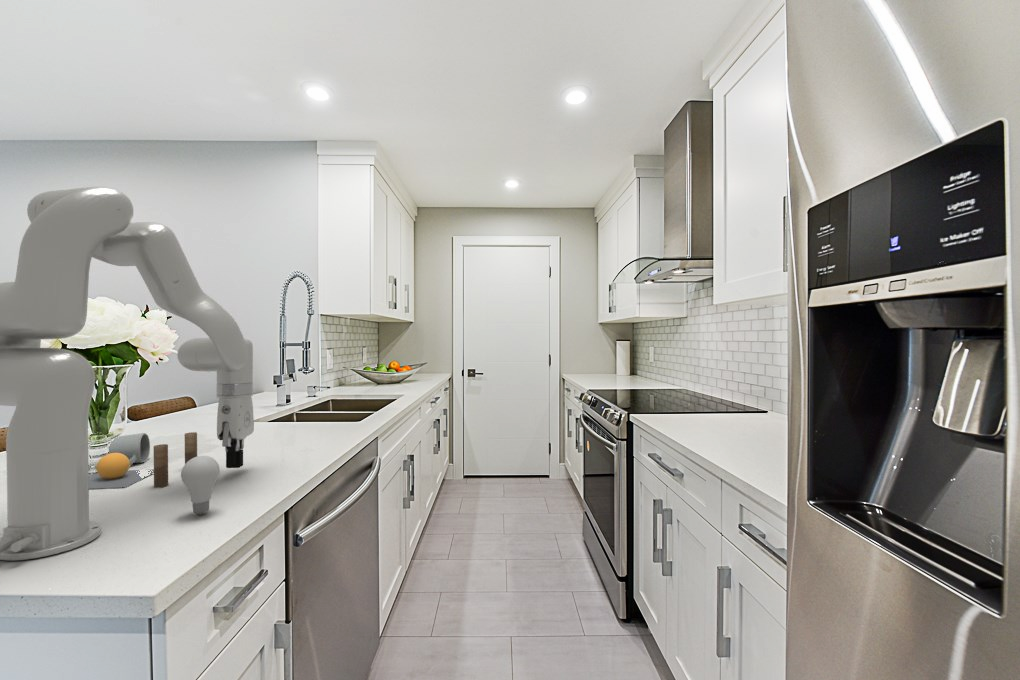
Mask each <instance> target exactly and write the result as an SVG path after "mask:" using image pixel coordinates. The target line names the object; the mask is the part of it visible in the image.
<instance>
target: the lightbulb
mask: <svg viewBox="0 0 1020 680" xmlns="http://www.w3.org/2000/svg"><path fill="white" fill-rule="evenodd" d="M220 468H221V467H220V464H219V463H218V461H217V460H216V459H214V457H211V456H208V455H197V457H194V458H192V459H191V460H189V461H188V462H187V463H186V464H185V463H184V465H183V467H182V469H181V473H180V478H181V482H182V483H183V484H184V486H185V487H186V488H187V490H188V492H189V496H190V502H191V503H192V512H193V513H194V514H196V515H199V516H200V515H201V516H202V515H204V514H205V513H206V512H208V511H209V510H210V499H211V498H212V490H213V487H214V485H215V483H216V482H217V480H218V478H219V476H220V471H221V470H220Z"/></svg>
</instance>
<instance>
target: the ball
mask: <svg viewBox="0 0 1020 680" xmlns="http://www.w3.org/2000/svg"><path fill="white" fill-rule="evenodd" d="M129 469H130V461H129V459H128V457H127V456H125V455H124V454H121V453H110V454H107V455H105V456H104V455H103V456H102V457H101V458H100V459H99V460H98V462H97V464H96V472H98V474H99V475H100V476H101V477H103V478H105V479H116V478H119V477H121V476H123V475H124V474H125V473H126V472H127V471H128V470H129Z"/></svg>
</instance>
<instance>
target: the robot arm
mask: <svg viewBox="0 0 1020 680" xmlns="http://www.w3.org/2000/svg"><path fill="white" fill-rule="evenodd" d="M26 210H27V212H26V214H27V216H28V217H27V218H28V220H29V221H30V224H29V225H28V227H27V229H26V230H25V233H24V235H23V237H22V238H21V239H22V240H21V242H20V246H19V252H18V259H17V266H16V273H15V278H14V281H7V282H0V406H3V407H4V406H7V407H8V406H9V407H15V409H14V412H13V414H12V416H11V419H10V421H9V424H8V427H7V432H6V438H5V439H6V440H5V441H6V442H5V446H6V447H5V449H6V450H5V453H6V454H5V455H6V501H7V503H6V505H7V507H6V508H7V526H6V527H4V528H3V529H2V531H3V533H2V534H3V535H2V536H1V537H0V560H1V561H25V560H32V559H38V558H43V557H48V556H53V555H56V554H61V553H65V552H67V551H70V550H74V549H77V548H79V547H82V546H84V545H86V544H88V543H90V542H92V541H95V539H97V538H98V537H99V536H100V535H102V534H101V533H102V525H101V524H100V523H98V522H96V521H90V494H89V493H90V489H89V473H90V471H89V468H90V467H89V415H90V407H91V402H92V397H93V393H94V389H95V384H96V383H95V382H96V373H95V370H94V368H93V365H92V364H91V363H90V362H89V360H88V359H87V358H86V357H85V356H83V355H81V354H80V353H77V352H75V351H73V350H70V349H65V348H59V347H58V348H57V347H41V345H42V343H41V341H42V340H60V339H62V340H63V339H67V338H70V337H73V336H75V335H77V334H79V333H80V332H81V331H82V330H83V328H84V327H85V325H86V322H87V316H88V303H89V302H88V301H89V300H88V299H89V298H88V297H89V283H90V281H89V280H90V279H89V278H90V271H91V270H90V268H91V263H92V258H94V259H95V260H98V261H101V262H103V263H106V264H110V265H113V266H116V267H136V269H137V271H138V272H139V275H140V277H141V278H142V280H143V282H144V284H145V285H146V287H147V289H148V291H149V293H150V295H151V297H152V299H153V300H154V303H155V304H156V306H158V307H159V308H160V309H162V310H164V311H167V312H168V313H170V314H172V315H174V316H177V317H179V318H182V319H184V320H187V321H188V322H190V323H191V324H194V325H195V326H196V327H199V329H201V331H203V332H204V333H205V334H206V335H207V336H208V337H196V338H192V339H188V340H186V341H184V342H183V343H182V344H181V345H180V346H179V348H178V350H177V353H176V354H177V355H176V356H177V360H178V362H179V364H180V365H181V366H182V367H183V368H185V369H187V370H190V371H192V372H193V371H194V372H208V373H210V372H216V398H217V399H218V404H217V417H216V437H217V440H219V441H221V446H222V447H223V448H224V449H225V450H224V451H225V468H226V469H239V468H241V467H243V465H244V448H245V440H246V438H247V437H249V436H250V435H252V434H253V433H254V431H255V423H254V419H255V418H254V406H253V405H254V404H253V398H252V397H253V396H254V395H253V394H254V391H253V389H254V388H253V385H254V382H253V379H254V376H253V375H254V371H253V369H254V368H253V367H254V366H253V365H254V364H253V363H254V360H253V359H254V347H253V342H252V341H251V340H250V339H247V338H244V336H243V333H242V331H241V328H240V326H239V325H238V323H237V321H235V318H234V317H233V316H232V315H231V314H230V313H229V312H228V311H227V310H226V309H224V308H223V307H222V305H220V304H219V303H218V302H217V301H215V299H213V298H212V297H210V295H208V294H207V293H205V291H203V290H202V287H201V285H200V284H199V282H198V280H197V277H196V276H195V273H194V272H193V269H192V267H191V265H190V263H189V261H188V259H187V257H186V255H185V254H186V253H185V252H184V250H183V247H181V244H180V242H179V240H178V238H177V236H176V234H175V233H174V231H173V230H172V229H171V228H170V227H168V226H167V225H165V224H162V223H159V222H154V221H152V222H151V221H144V222H143V221H142V222H141V221H140V222H139V221H137V222H132V221H133V217H134V205H133V202H132V201H131V199H130V198H129V197H128V196H127V195H126V194H125V193H123V192H122V191H120V190H118V189H115V188H110V187H107V186H89V187H78V188H77V187H76V188H70V189H61V190H60V189H59V190H57V189H56V190H49V191H44V192H41V193H39V194H37V195H35V196H34V197H33V198H32V199H31V200H30V201H29V203H28V205H27V209H26Z"/></svg>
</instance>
